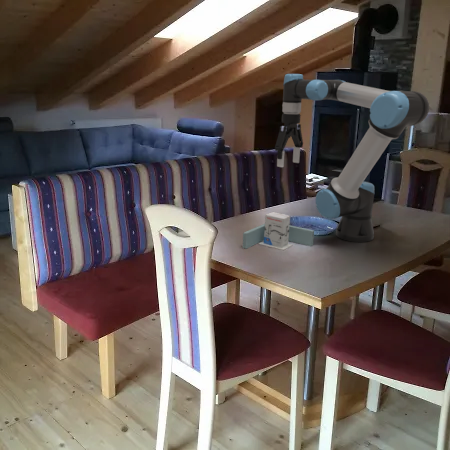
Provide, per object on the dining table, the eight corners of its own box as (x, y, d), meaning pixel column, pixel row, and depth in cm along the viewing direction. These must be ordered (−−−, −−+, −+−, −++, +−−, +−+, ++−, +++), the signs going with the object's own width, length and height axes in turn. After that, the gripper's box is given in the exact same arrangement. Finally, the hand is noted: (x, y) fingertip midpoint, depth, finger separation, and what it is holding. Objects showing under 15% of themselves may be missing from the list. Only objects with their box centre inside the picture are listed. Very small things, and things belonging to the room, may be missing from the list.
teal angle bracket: (313, 245, 196) (314, 230, 194) (288, 259, 180) (289, 243, 179) (269, 235, 207) (270, 221, 205) (242, 247, 191) (243, 232, 189)
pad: (292, 245, 195) (292, 244, 195) (283, 250, 190) (283, 249, 190) (268, 239, 201) (268, 239, 201) (258, 244, 196) (258, 243, 196)
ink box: (263, 243, 196) (264, 214, 193) (270, 240, 200) (271, 211, 196) (282, 248, 191) (283, 218, 188) (288, 244, 195) (290, 215, 191)
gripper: (297, 111, 218) (294, 159, 224) (267, 114, 199) (265, 167, 205) (313, 112, 214) (309, 161, 220) (284, 115, 195) (281, 169, 201)
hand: (288, 164), depth 213 cm, fingers open, 13 cm apart
